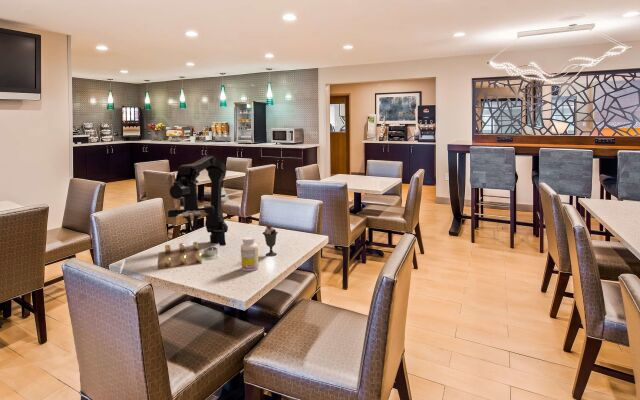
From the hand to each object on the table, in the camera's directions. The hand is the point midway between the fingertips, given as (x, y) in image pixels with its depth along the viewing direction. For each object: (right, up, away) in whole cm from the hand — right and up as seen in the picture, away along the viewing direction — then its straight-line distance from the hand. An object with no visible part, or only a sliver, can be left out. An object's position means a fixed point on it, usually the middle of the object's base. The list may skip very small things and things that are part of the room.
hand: (192, 230), depth 173 cm
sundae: (+33, -11, +6) cm, 35 cm away
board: (-4, -13, +1) cm, 13 cm away
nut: (+7, -11, +4) cm, 13 cm away
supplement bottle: (+27, -15, -11) cm, 32 cm away
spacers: (-4, -12, +1) cm, 13 cm away
